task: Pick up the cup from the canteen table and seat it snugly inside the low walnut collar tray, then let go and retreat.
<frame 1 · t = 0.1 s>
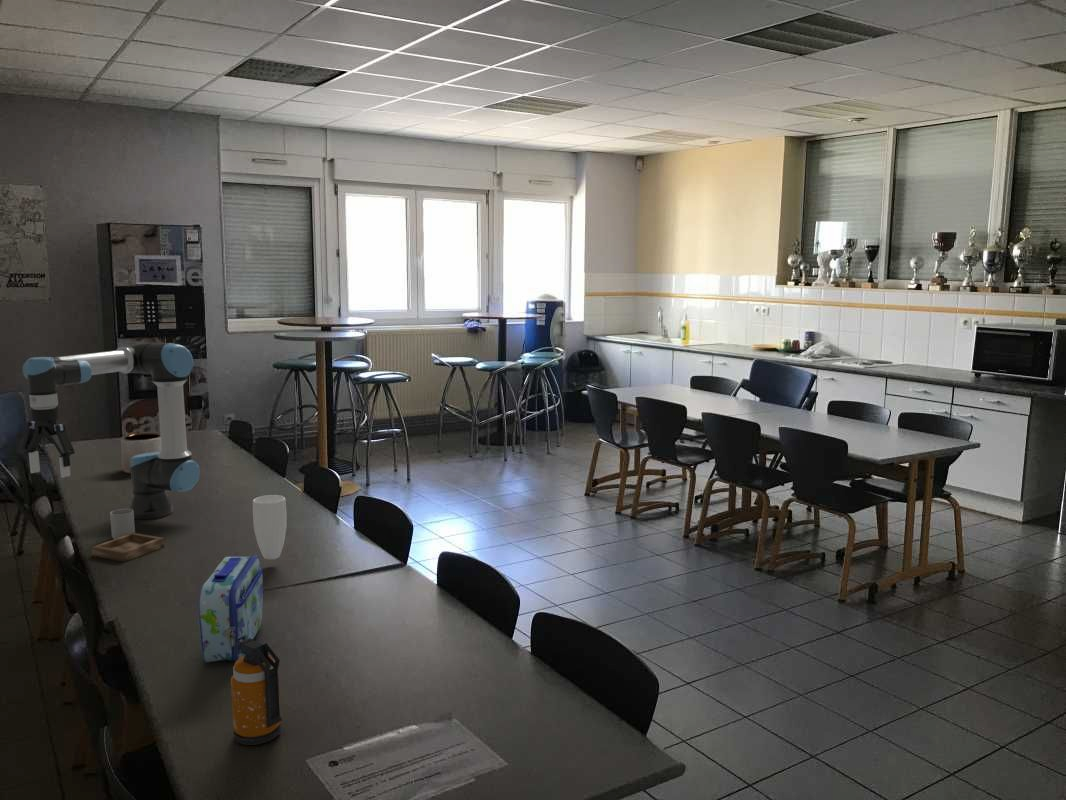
hand: (50, 474, 265), 28 cm above the table, fingers open, 13 cm apart
canister: (261, 737, 169), on the table
cup 2: (272, 566, 265), on the table
planter: (144, 470, 386), on the table
collar tray: (129, 551, 278), on the table
lunch box: (235, 646, 210), on the table
cup: (123, 536, 294), on the table
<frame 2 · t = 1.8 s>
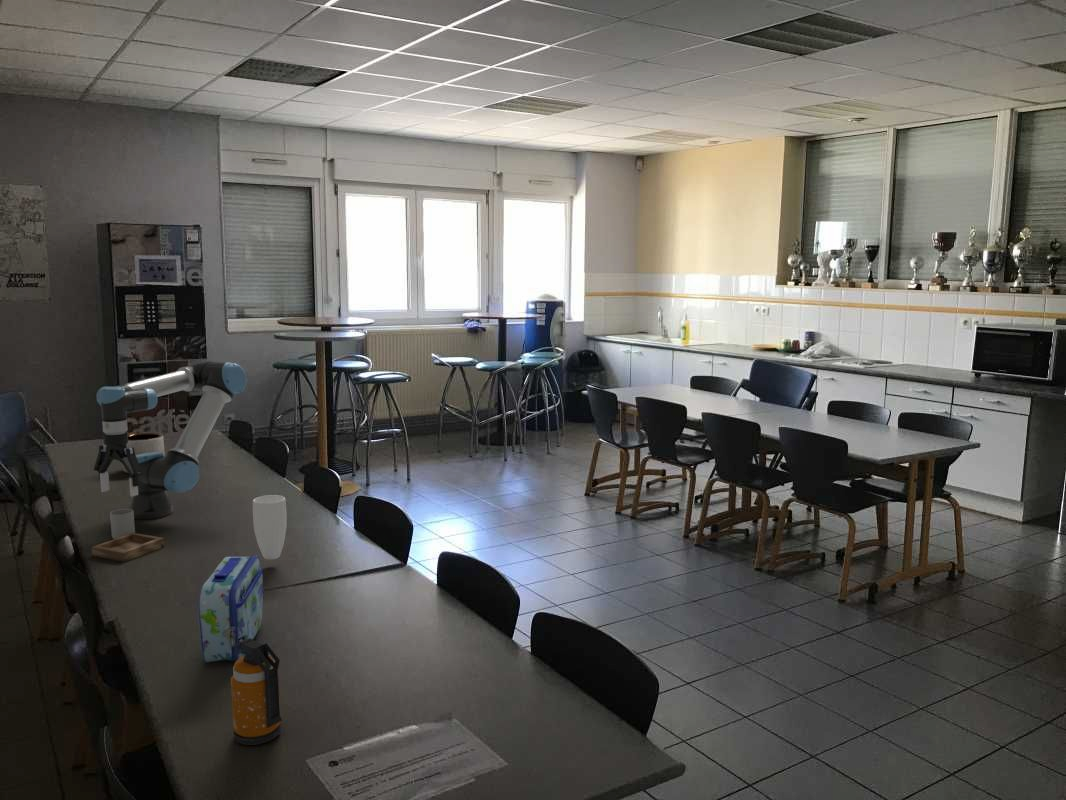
hand: (119, 493, 291), 15 cm above the table, fingers open, 13 cm apart
nothing on the table moved.
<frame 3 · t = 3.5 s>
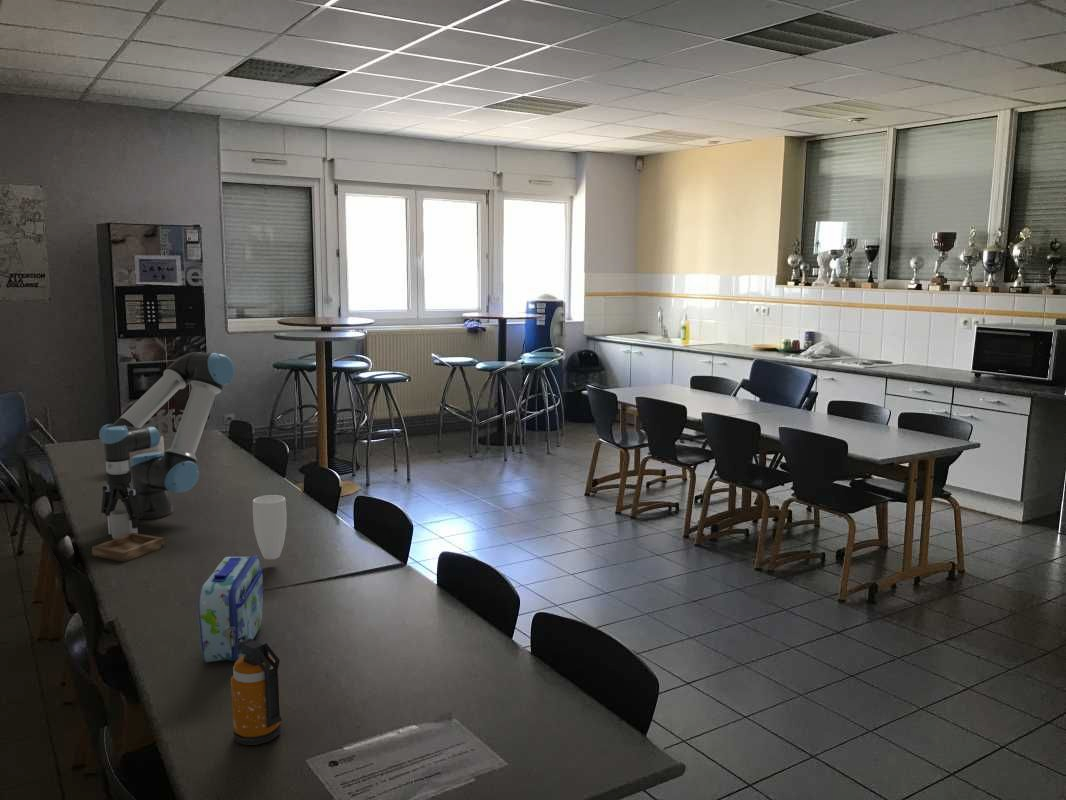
hand: (123, 535, 293), 0 cm above the table, fingers open, 9 cm apart
cup: (123, 536, 294), on the table, touching gripper
everything else where it was.
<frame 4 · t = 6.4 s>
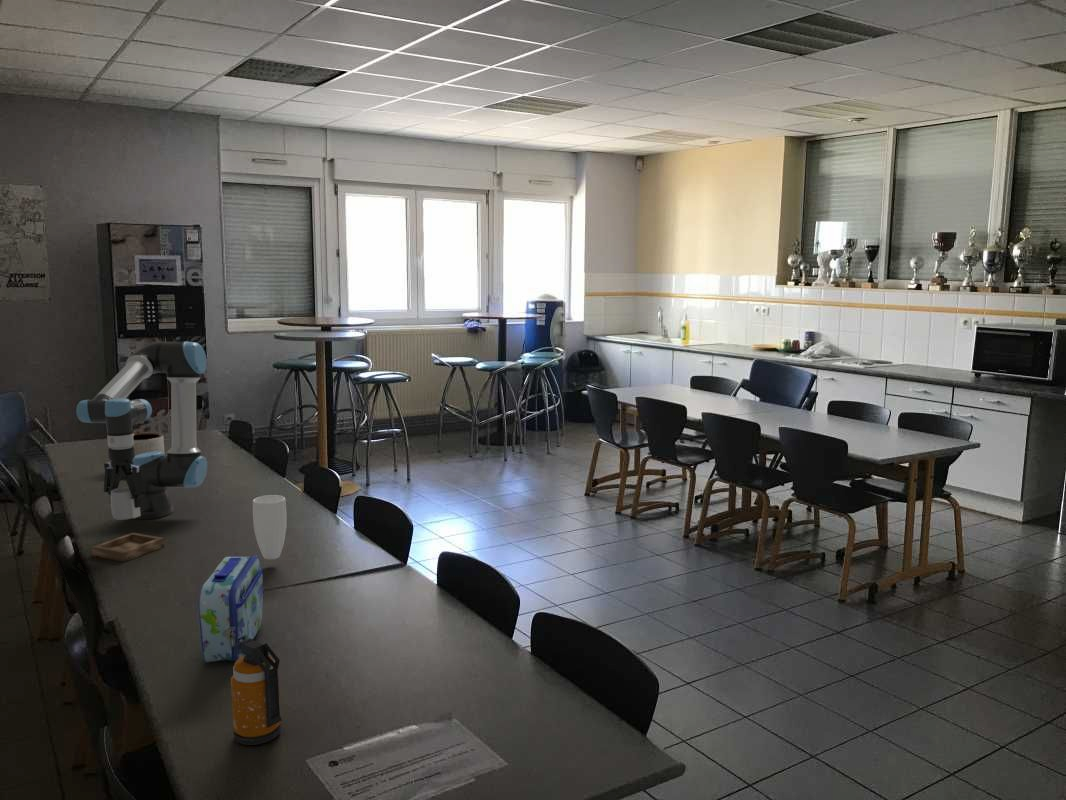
hand: (126, 515, 276), 12 cm above the table, fingers closed on cup, 8 cm apart
cup: (125, 516, 276), point 12 cm above the table, touching gripper
everything else where it was.
when the fingers open (3 cm above the table, at t = 8.3 s): cup drops 2 cm, resting on collar tray.
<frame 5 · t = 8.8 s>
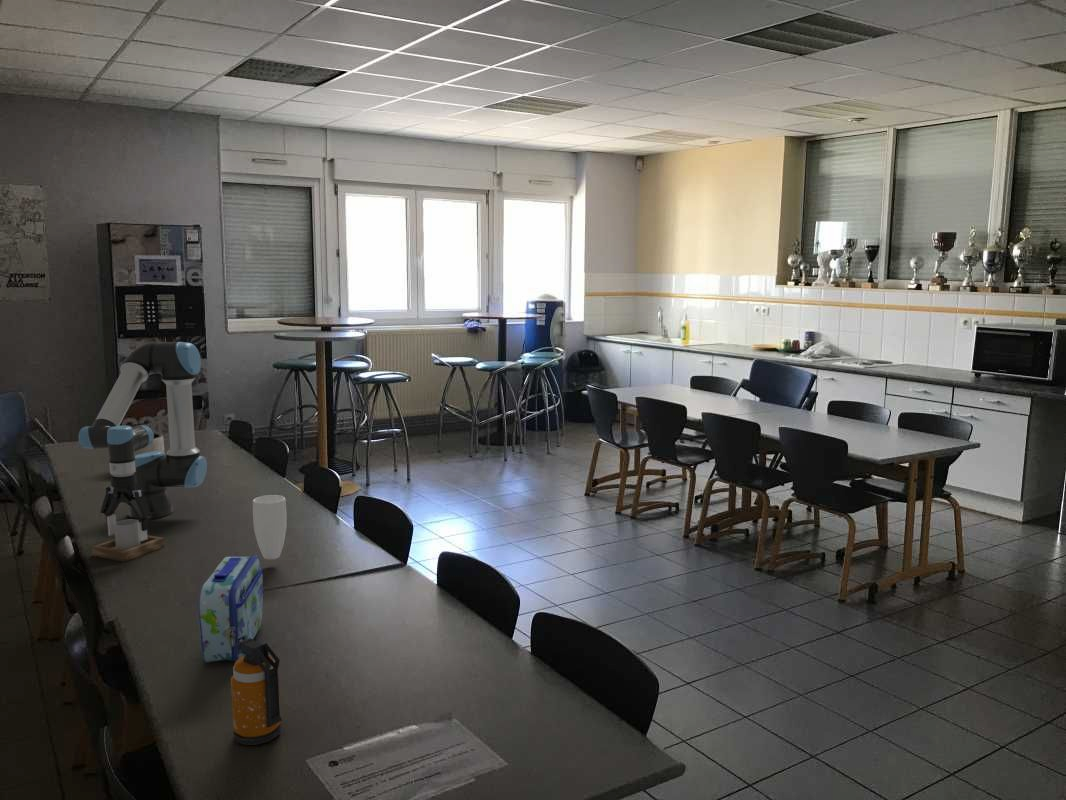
hand: (127, 537, 277), 5 cm above the table, fingers open, 13 cm apart
cup: (128, 548, 278), point 1 cm above the table, touching collar tray
everything else where it was.
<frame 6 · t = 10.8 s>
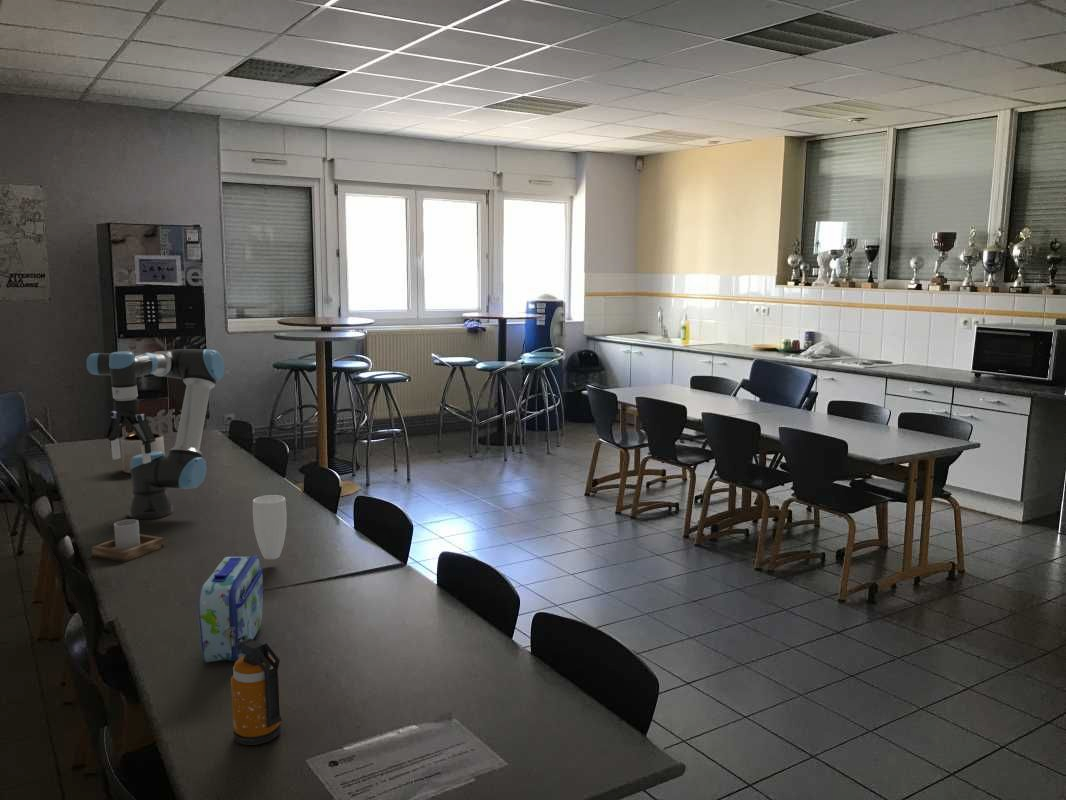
hand: (131, 460, 284), 28 cm above the table, fingers open, 13 cm apart
nothing on the table moved.
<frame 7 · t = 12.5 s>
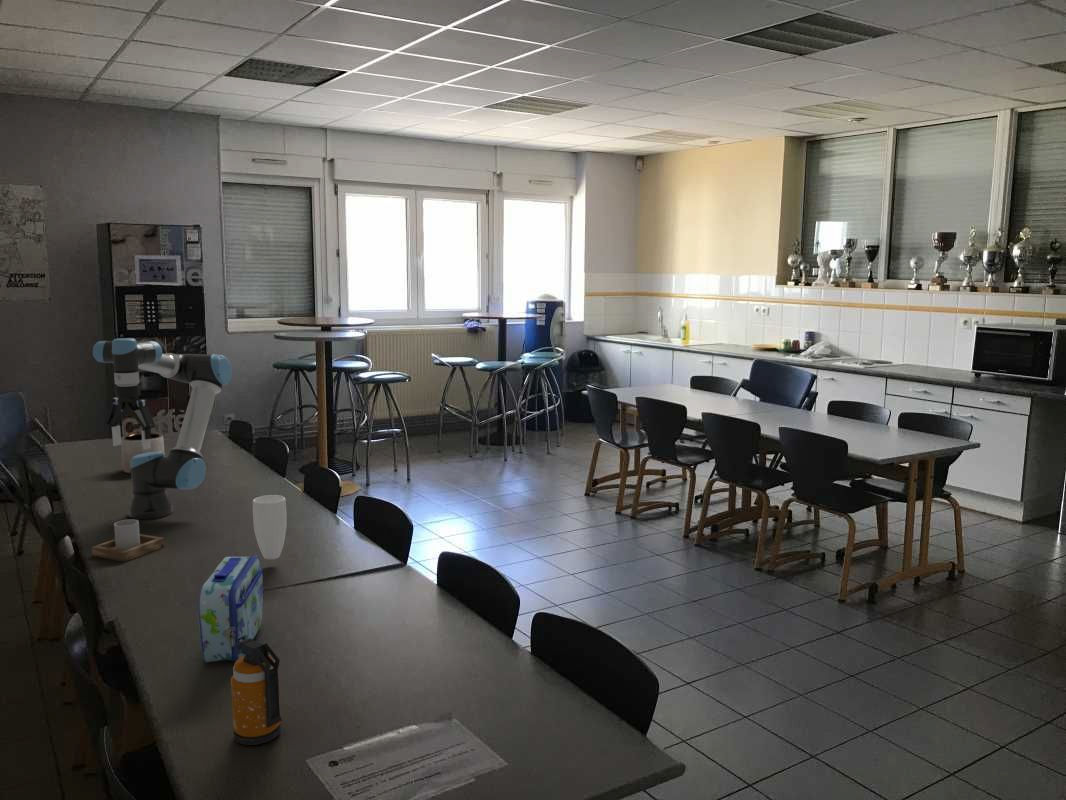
hand: (131, 446, 287), 32 cm above the table, fingers open, 13 cm apart
nothing on the table moved.
at the end: cup inside the target area on the collar tray (0.5 cm from its centre), point 0.8 cm above the collar tray's base; cup tilted 0°; the gripper is holding nothing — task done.
